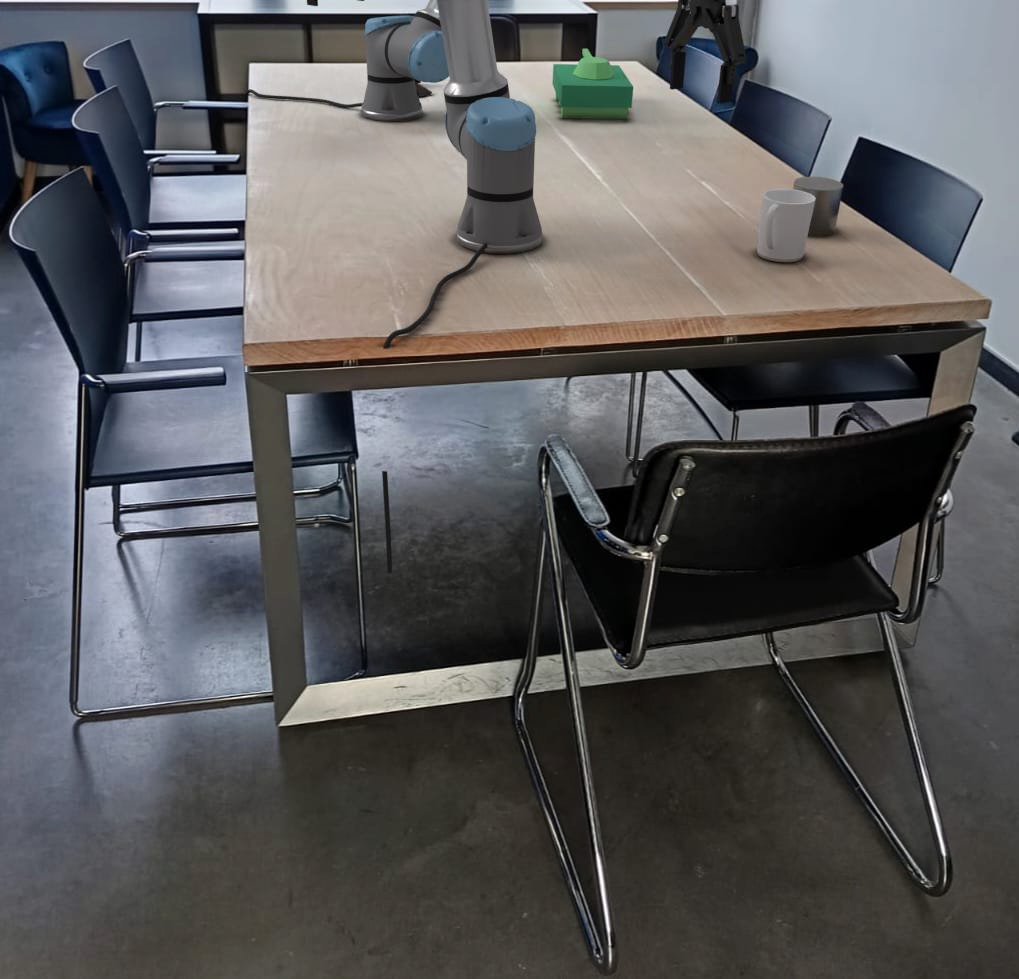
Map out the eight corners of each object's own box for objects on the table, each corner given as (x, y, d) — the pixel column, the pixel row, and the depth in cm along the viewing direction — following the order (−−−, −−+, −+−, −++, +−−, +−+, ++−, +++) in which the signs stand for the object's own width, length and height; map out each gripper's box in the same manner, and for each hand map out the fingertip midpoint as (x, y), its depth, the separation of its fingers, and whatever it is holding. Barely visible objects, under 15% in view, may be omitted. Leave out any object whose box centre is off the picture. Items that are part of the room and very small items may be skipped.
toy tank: (616, 45, 298) (634, 70, 268) (612, 92, 304) (630, 122, 275) (551, 43, 297) (563, 69, 267) (549, 91, 303) (560, 121, 274)
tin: (844, 234, 202) (852, 188, 198) (802, 238, 200) (809, 191, 196) (819, 220, 210) (827, 175, 205) (778, 223, 207) (785, 178, 203)
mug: (769, 242, 197) (777, 185, 192) (814, 254, 192) (824, 196, 187) (738, 258, 190) (746, 199, 184) (785, 270, 185) (795, 210, 180)
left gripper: (296, -106, 218) (303, 9, 229) (386, -108, 235) (389, 0, 246) (272, -108, 222) (280, 5, 233) (362, -110, 239) (366, -4, 250)
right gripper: (776, -23, 187) (760, 105, 198) (682, -38, 205) (672, 81, 216) (743, -20, 184) (729, 110, 195) (650, -35, 202) (642, 85, 213)
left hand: (336, 3), depth 240 cm, fingers open, 13 cm apart
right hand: (699, 95), depth 205 cm, fingers open, 13 cm apart
